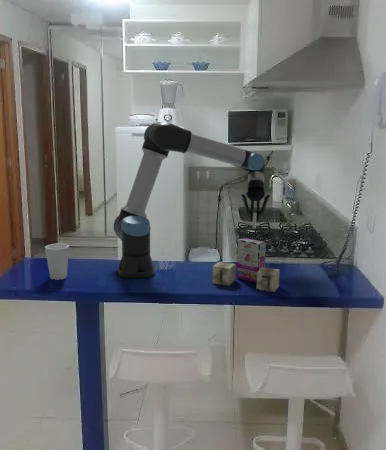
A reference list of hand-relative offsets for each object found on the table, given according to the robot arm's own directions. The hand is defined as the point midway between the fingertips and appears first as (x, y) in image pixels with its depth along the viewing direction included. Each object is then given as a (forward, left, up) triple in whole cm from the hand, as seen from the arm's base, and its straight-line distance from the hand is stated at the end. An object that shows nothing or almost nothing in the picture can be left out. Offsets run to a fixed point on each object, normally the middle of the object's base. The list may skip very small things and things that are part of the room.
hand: (254, 226), depth 211 cm
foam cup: (-68, -47, -19) cm, 85 cm away
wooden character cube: (-5, -24, -19) cm, 31 cm away
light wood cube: (+13, -24, -19) cm, 33 cm away
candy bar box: (+4, -17, -19) cm, 25 cm away
